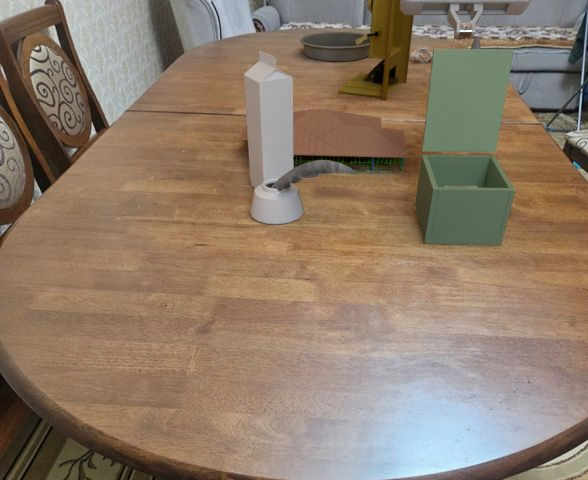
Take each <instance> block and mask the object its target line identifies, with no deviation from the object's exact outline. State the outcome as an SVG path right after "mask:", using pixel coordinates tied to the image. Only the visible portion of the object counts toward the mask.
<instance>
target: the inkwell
mask: <svg viewBox="0 0 588 480" xmlns="http://www.w3.org/2000/svg"><path fill="white" fill-rule="evenodd" d="M334 173H338V174H351V175H358V173H357V171H356V170H355V169H352V167H349V166H348V165H347V164H344V163H343V164H342V162H338V161H335V160H330V159H329V160H328V159H322V160H321V159H318V160H317V159H316V160H311V161H307V162H304V163H303V164H301V165H300V164H299V165H297V167H296V166H295V167H294V169H292V170H290V171H289V172H287V173H286V174H285V175H283V176H282V177H281V178H274V179H269V180H266V181H264V182H263V184H260V185H259V186H257V187H256V188H254V191H253V195H252V199H251V202H250V208H249V214H250V216H251V218H252V219H253V220H255V221H257V222H259V223H262V224H266V225H284V224H290V223H293V222H295V221H297V220H299V219H300V218H301V217H303V215H304V211H305V208H304V204H303V201H302V198H301V194H300V192H299V188H298V187H297V186H296V185H295V184H297V183H300V182H301V181H302V180H303V179H304V178H305V179H313V178H318V177H321V175H329V174H334ZM292 183H294V185H293V184H292Z"/></svg>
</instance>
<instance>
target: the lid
mask: <svg viewBox="0 0 588 480" xmlns="http://www.w3.org/2000/svg"><path fill="white" fill-rule="evenodd" d="M514 52H515V49H513V48H512V49H511V48H509V49H508V48H506V49H503V48H498V49H497V48H494V49H493V48H491V49H490V48H485V49H483V48H480V49H471V48H466V49H465V48H436V49H435V48H433V49H432V53H433V56H432V60H431V66H430V76H429V82H428V92H427V99H426V109H425V110H426V111H425V118H424V128H423V137H422V144H421V146H422V147H421V152H422V153H425V152H426V153H428V152H429V153H497V148H498V142H499V136H500V132H501V125H502V120H503V116H504V115H503V114H504V109H505V103H506V97H507V91H508V86H509V81H510V75H511V69H512V64H513V58H514Z"/></svg>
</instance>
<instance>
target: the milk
mask: <svg viewBox="0 0 588 480" xmlns="http://www.w3.org/2000/svg"><path fill="white" fill-rule="evenodd" d="M243 83H244V84H243V85H244V99H245V100H244V101H245V117H246V125H247V134H248V142H247V147H248V148H247V149H248V150H247V151H248V165H249V181H250V186H252V188H254V189H255V188H256V187H257V186H259V185H260V184H263V182H264V181H266V180H269V179H274V178H281V177H282V176H283V175H285V174H286V173H287V172H289V171H290V170H292V169H294V168H295V167H294V166H295V165H294V159H293V158H294V157H293V112H294V77H292V76H291V75H289V74H287V73H285V72H284V71H282V70H280V69H278V68H277V59H276V57H275V56H273V55H272V54H269V53H266V52H264V51H262V50H259V51H258V61H257V62H256V63H255V64H254V65H252V66H251V67H250V68H249V69H248V70H247V71H246V72H245V73H244V74H243ZM292 184H293V185H295V183H292Z"/></svg>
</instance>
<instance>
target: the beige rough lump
mask: <svg viewBox="0 0 588 480" xmlns="http://www.w3.org/2000/svg"><path fill="white" fill-rule="evenodd" d="M428 48H429V47H427V46H418V47H417V48H416V49H415V50H413V51H412V52H410V54H409V59H410V60H411V61H412V62H414V61H416V60H417V61H420V62H421V63H422V64H424V63H428V61H432V56H433V51H429V49H428ZM424 54H426V55H428V56H427V58H425V56H424Z"/></svg>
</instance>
